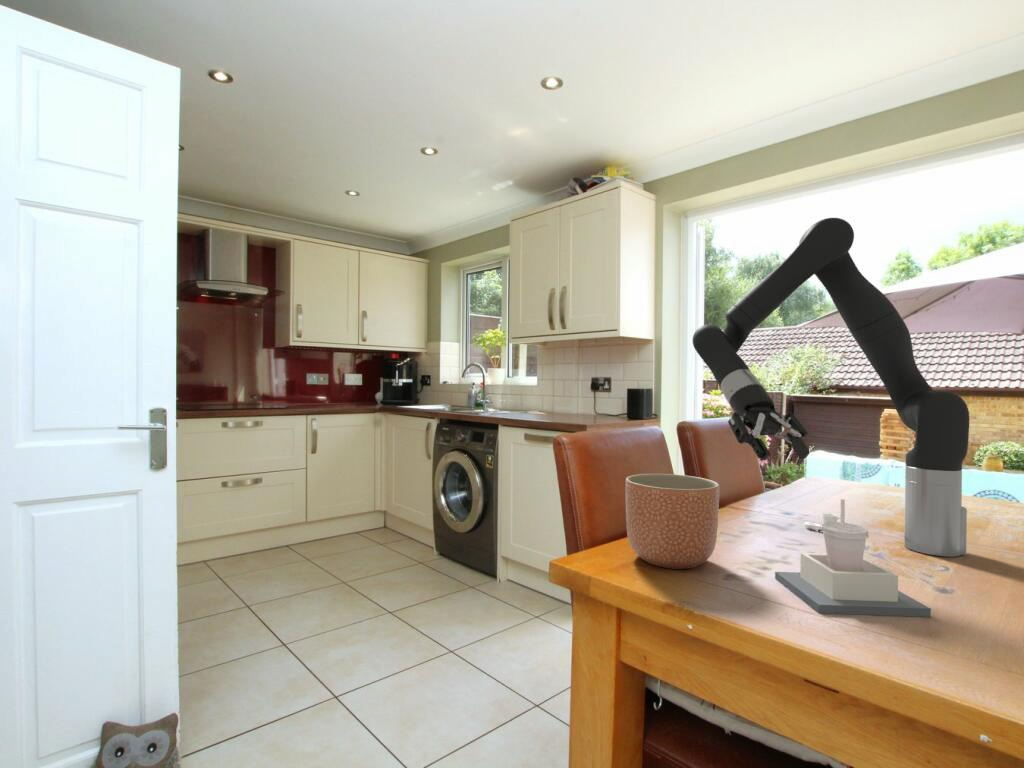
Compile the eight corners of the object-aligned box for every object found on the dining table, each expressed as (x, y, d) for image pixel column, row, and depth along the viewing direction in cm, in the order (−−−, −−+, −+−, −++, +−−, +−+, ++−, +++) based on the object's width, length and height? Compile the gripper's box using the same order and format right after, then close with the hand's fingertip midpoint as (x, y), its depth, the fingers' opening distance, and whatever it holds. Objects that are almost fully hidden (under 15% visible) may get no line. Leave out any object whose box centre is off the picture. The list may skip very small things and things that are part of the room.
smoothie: (854, 580, 87) (854, 496, 87) (878, 596, 81) (877, 505, 81) (814, 579, 88) (813, 495, 88) (834, 595, 82) (834, 504, 81)
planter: (726, 580, 90) (727, 491, 90) (624, 572, 94) (626, 486, 94) (709, 550, 107) (710, 475, 107) (624, 544, 110) (625, 471, 110)
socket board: (869, 581, 91) (870, 551, 91) (930, 616, 77) (931, 581, 77) (775, 578, 92) (775, 548, 92) (818, 612, 78) (818, 577, 78)
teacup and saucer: (801, 531, 125) (801, 513, 125) (812, 525, 131) (812, 508, 131) (843, 539, 119) (843, 521, 119) (853, 532, 124) (853, 515, 124)
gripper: (723, 382, 107) (762, 445, 95) (784, 383, 110) (829, 443, 98) (708, 408, 112) (743, 470, 100) (766, 407, 115) (807, 468, 104)
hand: (786, 457), depth 99 cm, fingers open, 8 cm apart
